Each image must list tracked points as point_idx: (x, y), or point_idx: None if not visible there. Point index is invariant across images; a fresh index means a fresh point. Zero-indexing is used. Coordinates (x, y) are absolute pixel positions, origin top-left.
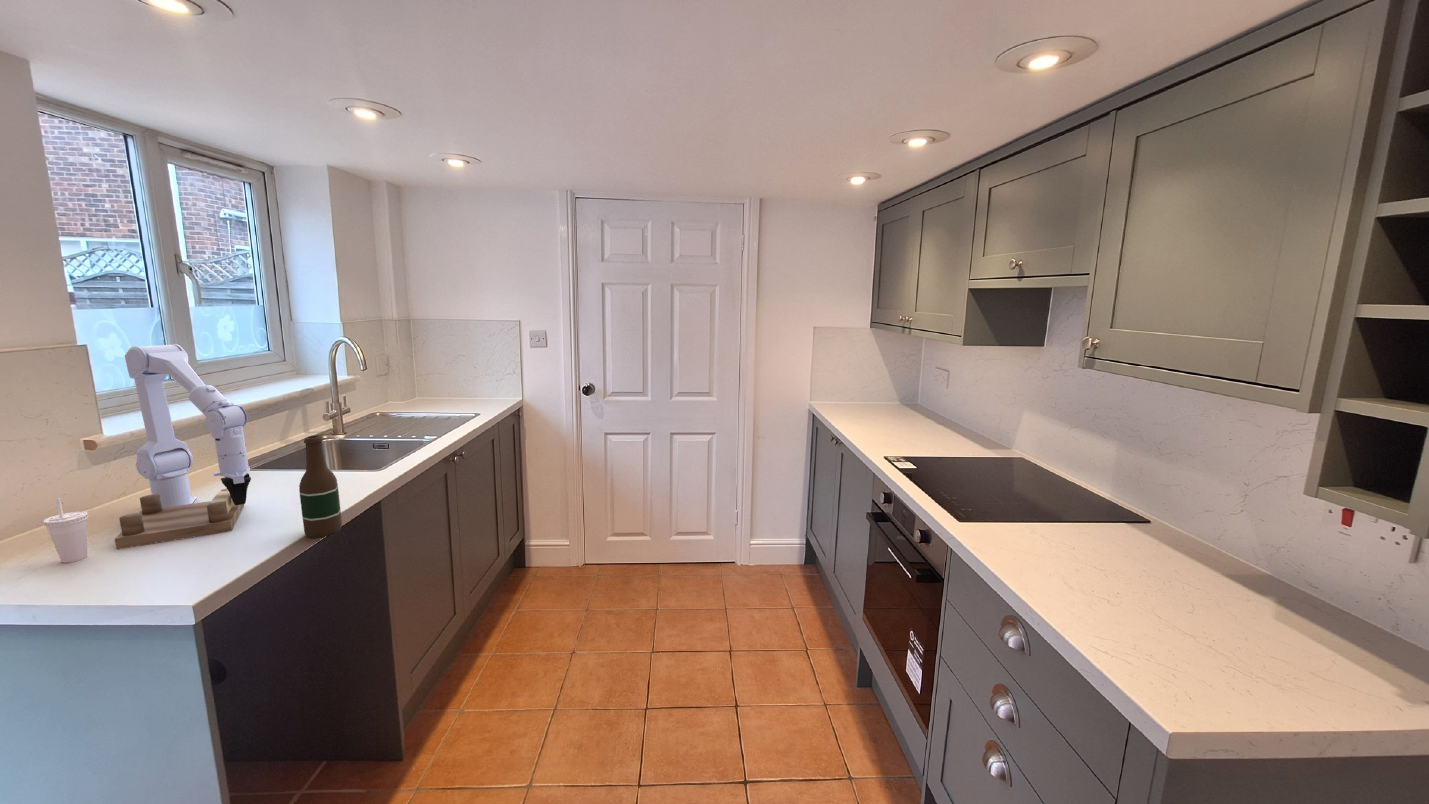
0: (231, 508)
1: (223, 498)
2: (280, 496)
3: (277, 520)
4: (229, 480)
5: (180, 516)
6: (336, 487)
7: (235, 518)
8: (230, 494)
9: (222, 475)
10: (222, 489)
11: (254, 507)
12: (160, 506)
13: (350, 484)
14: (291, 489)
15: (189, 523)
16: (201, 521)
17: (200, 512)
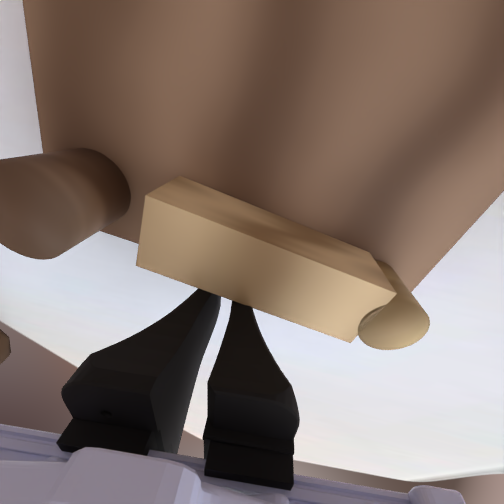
0: None
1: (204, 271)
2: (359, 371)
3: (120, 306)
4: (109, 414)
5: (301, 31)
6: None
7: None
8: (173, 310)
9: (40, 477)
10: (423, 313)
11: None
12: None
13: (303, 451)
14: (402, 401)
15: (106, 57)
16: (110, 120)
17: (287, 148)
